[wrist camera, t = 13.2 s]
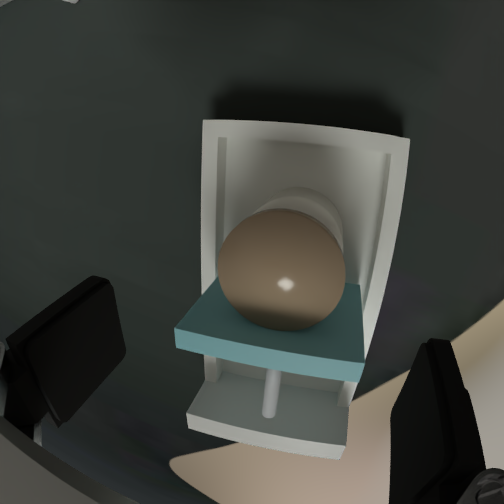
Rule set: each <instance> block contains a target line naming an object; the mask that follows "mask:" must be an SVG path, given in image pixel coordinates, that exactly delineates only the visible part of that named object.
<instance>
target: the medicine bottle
mask: <svg viewBox="0 0 504 504" xmlns="http://www.w3.org/2000/svg"><path fill="white" fill-rule="evenodd" d="M64 1H67V2H71V3H77V2H78V1H79V0H64Z"/></svg>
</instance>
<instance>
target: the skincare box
mask: <svg viewBox="0 0 504 504" xmlns="http://www.w3.org/2000/svg"><path fill="white" fill-rule="evenodd" d="M10 1H12V0H0V7H1V6H3V5H5V4H7V3H8V2H10Z"/></svg>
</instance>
